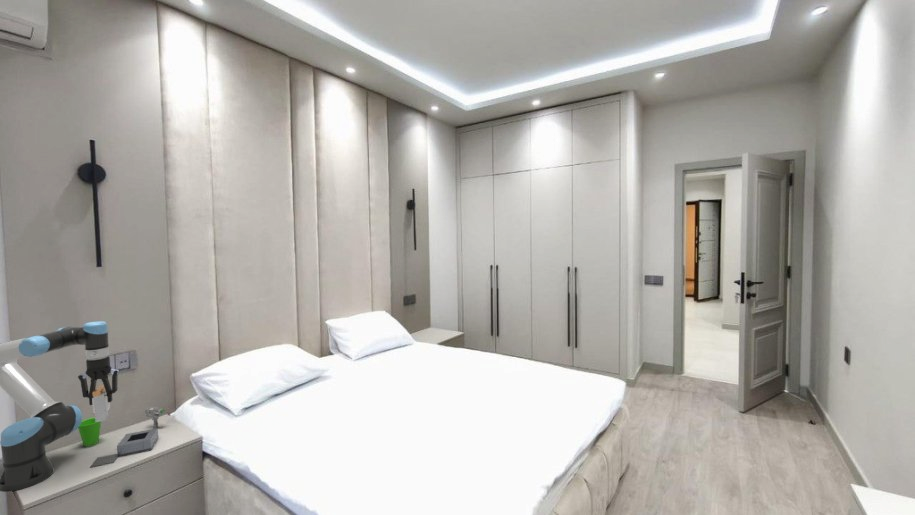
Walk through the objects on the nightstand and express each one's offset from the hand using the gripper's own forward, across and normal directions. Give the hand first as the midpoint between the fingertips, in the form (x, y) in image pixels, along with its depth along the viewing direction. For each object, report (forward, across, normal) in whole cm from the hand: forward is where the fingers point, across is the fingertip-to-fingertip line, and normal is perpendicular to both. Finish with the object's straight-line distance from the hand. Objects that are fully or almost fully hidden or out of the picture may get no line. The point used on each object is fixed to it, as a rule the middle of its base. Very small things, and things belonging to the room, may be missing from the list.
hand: (101, 410), depth 172 cm
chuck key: (+4, 0, 0) cm, 4 cm away
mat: (+22, 0, 0) cm, 22 cm away
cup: (+23, -11, +22) cm, 33 cm away
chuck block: (+22, +10, +6) cm, 25 cm away
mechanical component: (+23, +13, +26) cm, 37 cm away
